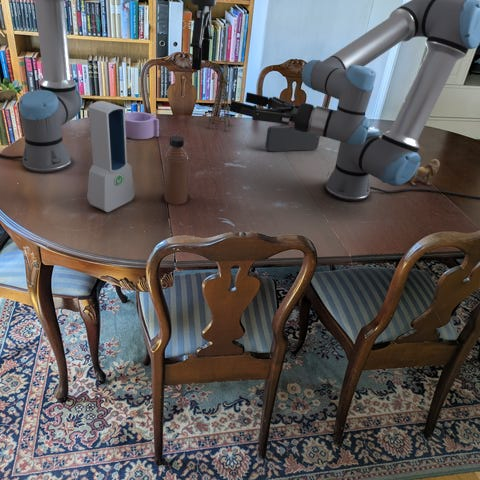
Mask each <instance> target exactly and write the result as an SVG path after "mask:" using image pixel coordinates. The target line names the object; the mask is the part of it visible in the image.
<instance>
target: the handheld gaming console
mask: <svg viewBox="0 0 480 480" xmlns="http://www.w3.org/2000/svg"><path fill="white" fill-rule="evenodd" d="M294 125H295V124H292V125H291V124H290V125H285V124H280V125H270V126H268V127H267V130H266V139H265V145H264V146H265V150H267V151H268V152H289V151H290V152H292V151H294V152H295V151H312V150H317V148H318V147H319V144H320V137H321V136H320V137H319V138H318V137H317V135H314V134H310V133H309V131H308V132H302V131H298V130H295V128H294Z"/></svg>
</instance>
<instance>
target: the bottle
mask: <svg viewBox="0 0 480 480" xmlns="http://www.w3.org/2000/svg"><path fill="white" fill-rule="evenodd" d="M189 159H190V158H189V155H188V153H187V151H186V150H185V148H184V146H182V147H172V146H170V147H169V148H168V150H167V151H166V152H165V154H164V158H163V199H164V201H165V202H166V203H167V204H170V205H183V204H185V203H186V202H187V201H188V185H189Z"/></svg>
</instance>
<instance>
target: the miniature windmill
mask: <svg viewBox="0 0 480 480" xmlns="http://www.w3.org/2000/svg"><path fill="white" fill-rule="evenodd" d="M229 63H230V62H229V57H225V61H224V64H222V65H221V64H219V63H217V62H213V63H212V69H222V72H221V76H220V77H219V78H218V79H217V80H216V82H219V83H218V84H219V85H218V86H217V90H216V94H215V97H214V102H213V106H212V108H211V109H212V110H211V113H210V118H209V119H208V120H209V121H208V125H207V128H208V129H209V128H210V126H211V123H214V122H219V123H224V131H227V122H228V126H231V119H230V118H231V116H230V109H229V103H228V101H229V100H228V94H227V85H226V83H228V82H230V79H229V78H227V75H228V72H229V70H228V69H229ZM221 89H222V92H223V94H220V92H221ZM220 96H222V97H220ZM219 99H222V100H223V103H219V102H218V101H219ZM217 106H223V108H222V107H217ZM217 110H223V115H221V114H216V112H217ZM226 111H227V115H226ZM216 116H217V117H222V118H224V120H219V119H215V117H216Z"/></svg>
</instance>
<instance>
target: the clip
mask: <svg viewBox="0 0 480 480" xmlns="http://www.w3.org/2000/svg"><path fill="white" fill-rule="evenodd" d="M159 120H160V119H158V118H157V114H156V113H148V112H143V111H132V112H131V111H130V112H127V113H125V127H126V138H129V139H132V140H148V139H151V138H153V137H156V138H157V137H159V136H160V121H159Z"/></svg>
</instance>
